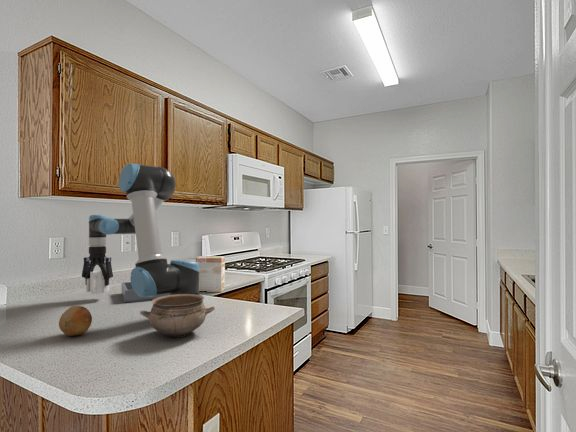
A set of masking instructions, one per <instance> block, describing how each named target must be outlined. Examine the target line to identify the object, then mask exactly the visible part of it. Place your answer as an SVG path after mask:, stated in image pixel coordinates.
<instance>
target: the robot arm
mask: <svg viewBox="0 0 576 432" xmlns="http://www.w3.org/2000/svg"><path fill="white" fill-rule="evenodd" d="M118 187H119V190H120V191H121V192H123V193H125V194H126V199H127V200H129V201H130V202H131V209H132V214H131V215H130V216H129V217H128V218H110V217H109V218H108V217H107V216H106V215H105V214H90V215H89V218H88V246H89V247H88V254H89V256H87V257H86V256H85V257H83V265H82V271H81V277H82V278H83V279H85V280H84V281H85V282H84V283H85V286H86V293H91V292H90V272H93V271H95V267H96V266H98V267H99V269H100V271H102V274H103V277H104V279H103V293H102V294H105V292H106V293H108V292H109V291H108V285H109V286H110V279H111V278H113V277H114V274H113V267H112V257H108V256H107V255H106V254H107V246H106V245H107V236H108V235H123V234H125V235H128V234H132V235H133V234H134V235H135V239H136V247H137V248H136V249H137V254H138V255H137V256H138V260H137V261H136V262H134V263H135V265H134V266H135V267H134V268H133V269H132V270H131V272H130V277H129V278H130V282H131V285H132V288H133V290H134V291H135V293H136V294H137V295H138V296H140V297H153V296H157V295H163V294H169V293H170V295H175V294H195V295H200V292H199V273H200V271H199V264H198V263H197V262H196V261H195V260H183V259H182V260H181V259H171V260H170V262H169V264H168V258H166V257H165V256H164V255H163V251H162V246H161V244H162V243H161V239H160V238H161V237H160V231H159V225H158V217H157V210H158V208H159V207H161V205H162V204H163V203H164V202H165V201H168V200H169V199H170V198H171V197H172V196H173V194H174V193H175V190H176V179H175V176H174V175H173V173H172V172H171V171H170V170H169V169H167V168H165V167H161V166H154V165H146V164H140V163H127V164H125V165H124V166H123V167H122V169H121V171H120V174H119V179H118Z"/></svg>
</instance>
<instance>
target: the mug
mask: <svg viewBox="0 0 576 432" xmlns="http://www.w3.org/2000/svg"><path fill="white" fill-rule="evenodd" d="M103 279H104V277H103V274H102V271H101V270H93V272H90V292H89V293H90V294H94V295H95V294H105V293H107V292H105V293H103ZM109 291H110V284H109V285H108V292H109Z"/></svg>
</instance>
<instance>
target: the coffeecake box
mask: <svg viewBox="0 0 576 432" xmlns="http://www.w3.org/2000/svg"><path fill="white" fill-rule="evenodd" d="M225 260H226V256H225V255H224V256H221V255H219V256H213V255H211V256H210V255H209V256H205V255H203V256H202V255H200V256H196V257H195V262H197V263H198V264H199V271H200V273H199V291H207V292H206V293H222V292H224V291H225V290H226V289H225V288H226V287H225V283H226V282H225V281H226V279H225V278H226V271H225V270H226V263H225V262H226V261H225Z"/></svg>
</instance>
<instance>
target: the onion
mask: <svg viewBox="0 0 576 432" xmlns="http://www.w3.org/2000/svg"><path fill="white" fill-rule="evenodd" d="M92 321H93V316H92V313H91V312H90V310H89V309H88V308H86V307H84V306H83V305H72V306H71V307H69V308H67V309H66V310H65V311H64V312H63V313H62V314H61V315H60V318H59V320H58V327H59V330H60V331H61V332H62V333H63V334H64V335H66V336H68V337H70V336H72V337H74V336H82V335H84V334H85V333H86V332H87V331H88V330H89V329H90V327H91V325H92V323H93V322H92Z"/></svg>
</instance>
